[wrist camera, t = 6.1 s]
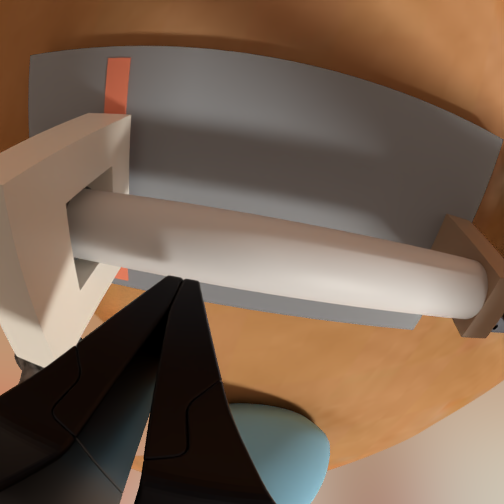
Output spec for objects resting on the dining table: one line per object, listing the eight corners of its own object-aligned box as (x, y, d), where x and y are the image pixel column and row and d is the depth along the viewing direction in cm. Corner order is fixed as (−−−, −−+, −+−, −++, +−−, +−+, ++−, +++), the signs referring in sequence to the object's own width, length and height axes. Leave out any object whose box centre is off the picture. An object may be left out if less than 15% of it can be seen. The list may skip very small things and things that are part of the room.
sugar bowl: (360, 417, 26) (372, 530, 16) (275, 463, 33) (272, 546, 23) (208, 373, 22) (183, 523, 13) (157, 433, 30) (137, 525, 20)
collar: (131, 114, 11) (2, 185, 5) (130, 251, 14) (61, 374, 8) (88, 112, 11) (-47, 180, 5) (94, 244, 14) (16, 356, 8)
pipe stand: (489, 132, 12) (575, 182, 6) (407, 316, 18) (437, 399, 13) (45, 53, 11) (-52, 71, 5) (57, 256, 17) (3, 327, 12)
